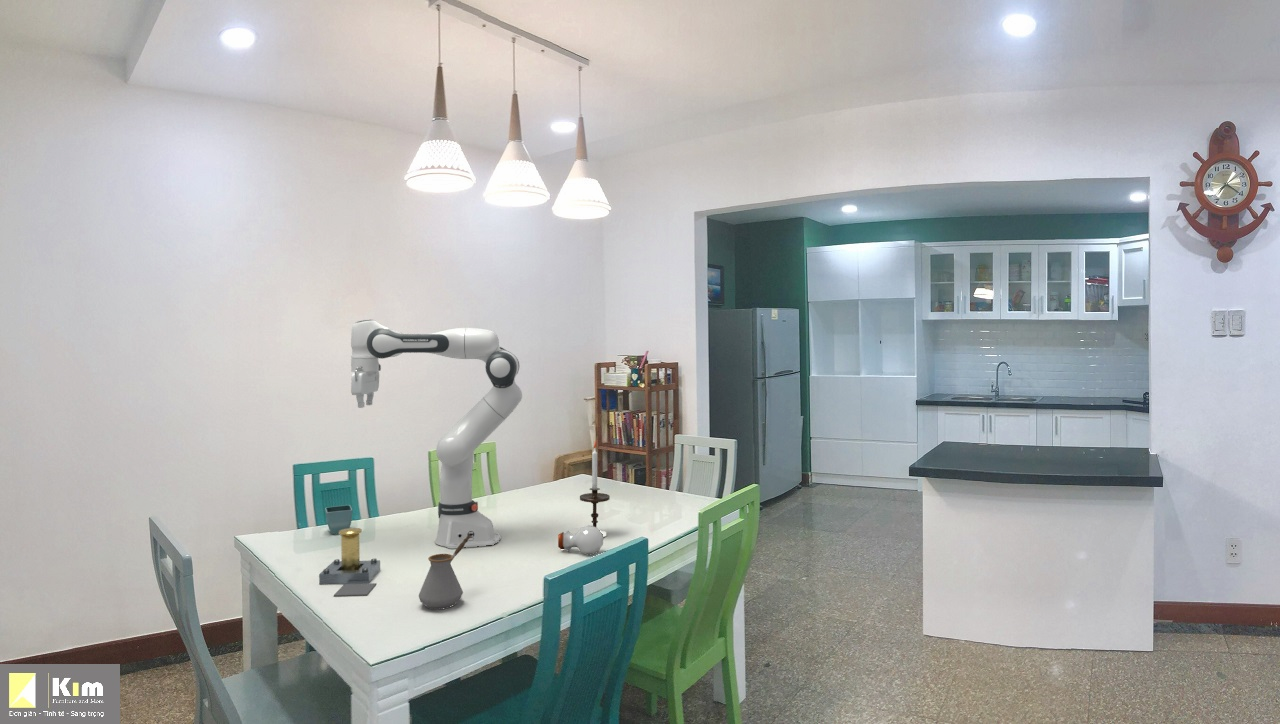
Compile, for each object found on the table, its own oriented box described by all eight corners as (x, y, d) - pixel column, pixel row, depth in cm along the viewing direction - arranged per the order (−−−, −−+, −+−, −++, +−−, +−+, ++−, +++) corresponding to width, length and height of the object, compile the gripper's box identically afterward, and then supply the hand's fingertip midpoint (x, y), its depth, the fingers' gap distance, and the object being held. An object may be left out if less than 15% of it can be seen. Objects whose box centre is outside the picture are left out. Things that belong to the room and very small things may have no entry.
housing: (380, 569, 220) (380, 557, 220) (368, 583, 208) (368, 570, 208) (333, 571, 219) (333, 558, 219) (319, 584, 207) (319, 571, 207)
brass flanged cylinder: (364, 573, 217) (364, 527, 217) (358, 580, 211) (358, 533, 210) (343, 573, 216) (342, 528, 216) (336, 580, 210) (335, 533, 210)
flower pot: (326, 537, 257) (326, 512, 256) (325, 531, 264) (324, 507, 264) (352, 534, 261) (352, 509, 260) (350, 528, 269) (350, 504, 268)
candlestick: (600, 529, 267) (600, 437, 266) (615, 536, 258) (615, 440, 257) (574, 534, 261) (574, 439, 260) (588, 541, 252) (589, 442, 251)
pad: (376, 584, 207) (376, 583, 207) (367, 595, 198) (367, 594, 198) (344, 585, 206) (344, 584, 206) (333, 596, 197) (333, 595, 197)
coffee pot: (447, 614, 185) (447, 557, 184) (409, 609, 188) (409, 553, 187) (488, 587, 205) (488, 535, 205) (453, 583, 208) (453, 532, 208)
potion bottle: (603, 560, 235) (562, 561, 239) (609, 536, 243) (569, 538, 247) (595, 542, 230) (553, 543, 234) (601, 518, 237) (560, 520, 242)
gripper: (365, 367, 237) (365, 409, 237) (382, 365, 257) (382, 403, 258) (345, 367, 236) (346, 409, 237) (364, 365, 257) (364, 403, 257)
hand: (365, 406), depth 247 cm, fingers open, 8 cm apart
